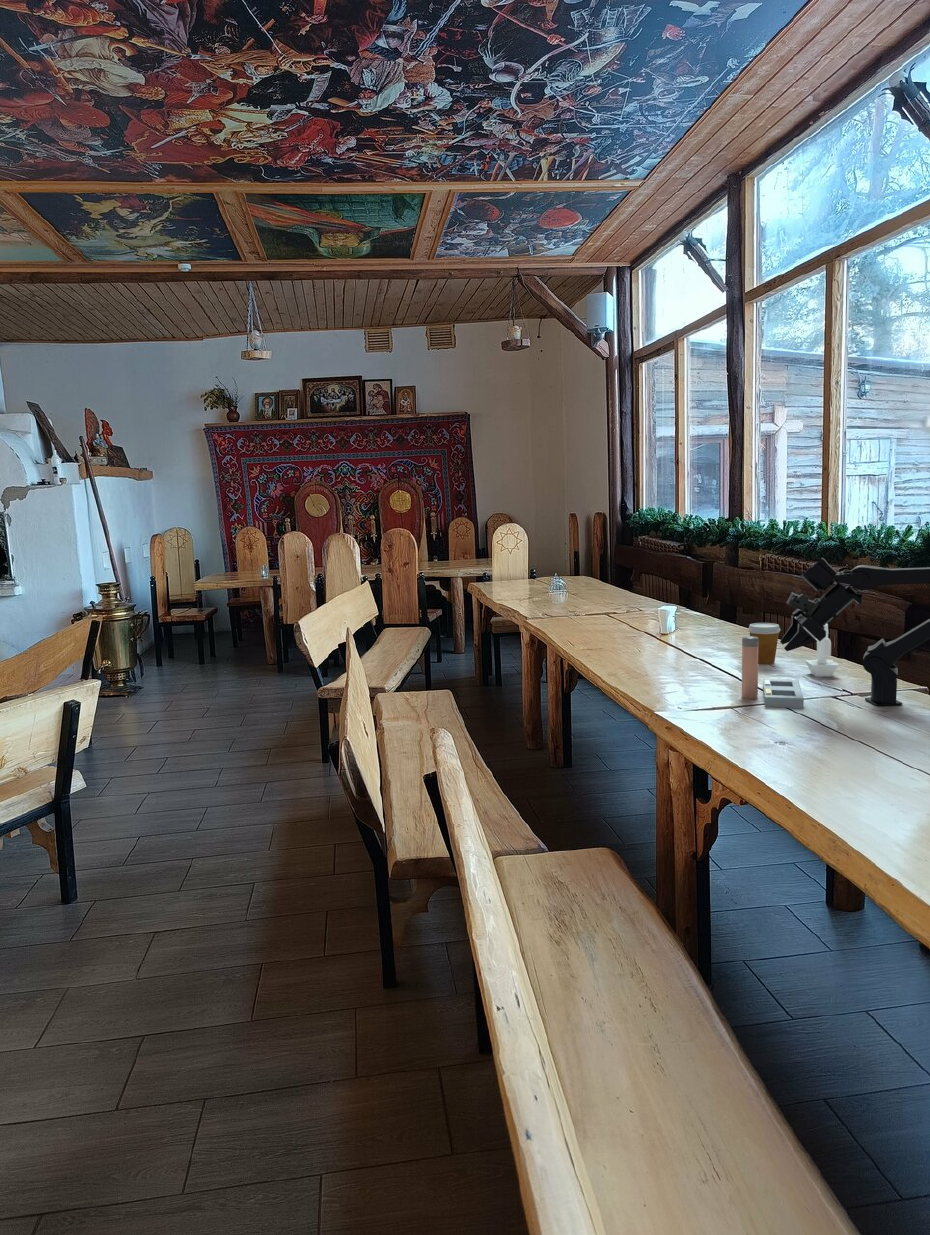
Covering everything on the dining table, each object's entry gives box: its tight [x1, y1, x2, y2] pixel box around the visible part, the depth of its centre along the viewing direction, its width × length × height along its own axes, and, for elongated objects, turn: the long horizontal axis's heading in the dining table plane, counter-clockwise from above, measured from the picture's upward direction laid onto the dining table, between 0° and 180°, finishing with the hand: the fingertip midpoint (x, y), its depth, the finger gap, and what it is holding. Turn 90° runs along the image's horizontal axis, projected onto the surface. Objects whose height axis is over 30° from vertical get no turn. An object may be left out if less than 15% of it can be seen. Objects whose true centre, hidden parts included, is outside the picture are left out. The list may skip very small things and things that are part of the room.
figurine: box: [804, 623, 840, 678], centre depth 231 cm, size 7×9×15 cm
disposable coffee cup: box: [747, 622, 781, 666], centre depth 251 cm, size 10×10×12 cm
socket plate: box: [762, 678, 805, 709], centre depth 209 cm, size 20×9×3 cm, turn 161°
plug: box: [741, 635, 759, 700], centre depth 210 cm, size 4×4×16 cm
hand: (783, 646), depth 207 cm, fingers open, 9 cm apart
